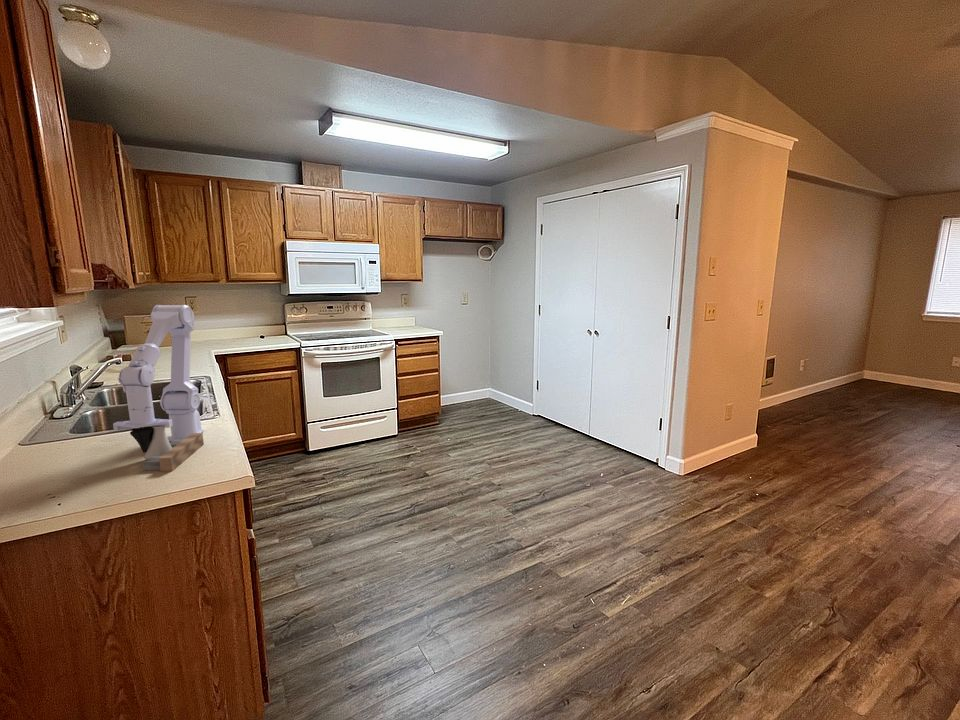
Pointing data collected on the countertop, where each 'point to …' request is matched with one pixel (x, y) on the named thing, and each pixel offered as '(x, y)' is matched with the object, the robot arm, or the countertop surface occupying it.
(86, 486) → the countertop surface
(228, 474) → the countertop surface
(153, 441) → the flask
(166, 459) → the spice rail
